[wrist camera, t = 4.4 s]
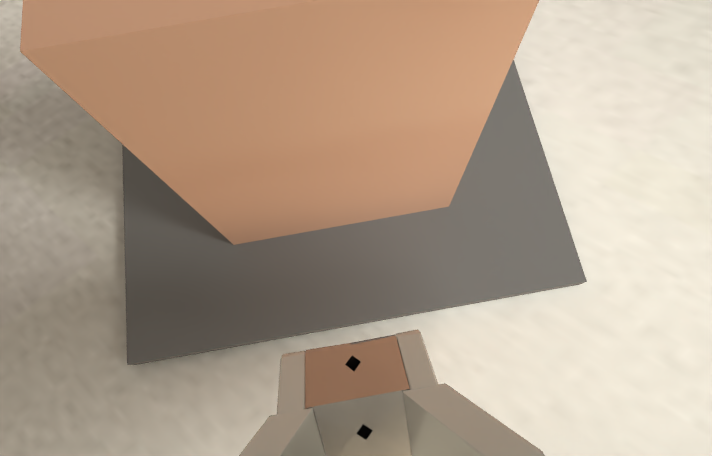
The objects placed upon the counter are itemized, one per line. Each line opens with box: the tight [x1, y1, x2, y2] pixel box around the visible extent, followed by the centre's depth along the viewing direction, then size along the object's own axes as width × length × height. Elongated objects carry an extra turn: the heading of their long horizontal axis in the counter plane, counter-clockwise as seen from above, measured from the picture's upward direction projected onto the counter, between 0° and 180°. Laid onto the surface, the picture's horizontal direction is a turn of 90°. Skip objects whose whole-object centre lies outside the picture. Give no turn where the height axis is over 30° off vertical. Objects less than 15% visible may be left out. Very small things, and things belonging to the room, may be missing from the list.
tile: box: [20, 0, 539, 245], centre depth 14 cm, size 2×9×12 cm, turn 100°
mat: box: [123, 60, 587, 365], centre depth 22 cm, size 22×18×1 cm
